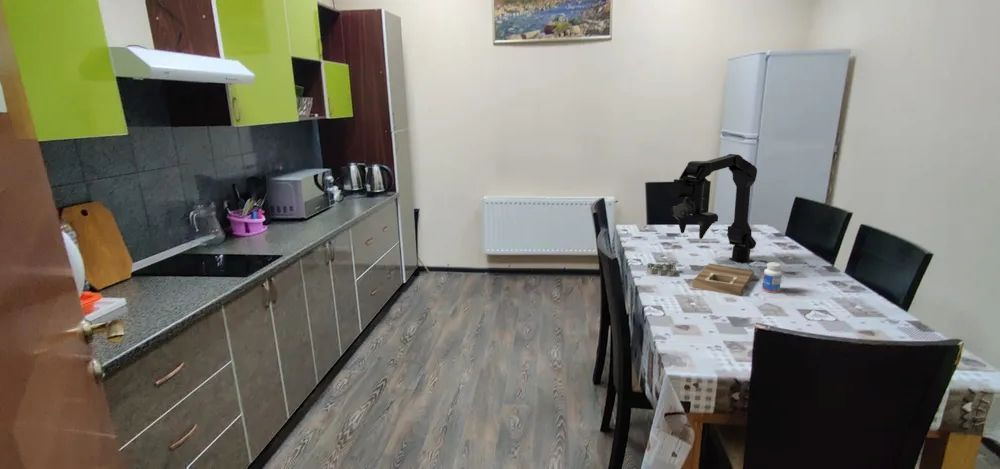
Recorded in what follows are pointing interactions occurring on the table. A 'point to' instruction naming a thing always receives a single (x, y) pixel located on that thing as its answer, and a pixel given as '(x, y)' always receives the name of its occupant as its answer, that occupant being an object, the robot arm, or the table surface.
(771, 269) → the pill bottle
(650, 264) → the egg carton
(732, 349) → the table surface
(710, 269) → the socket board
